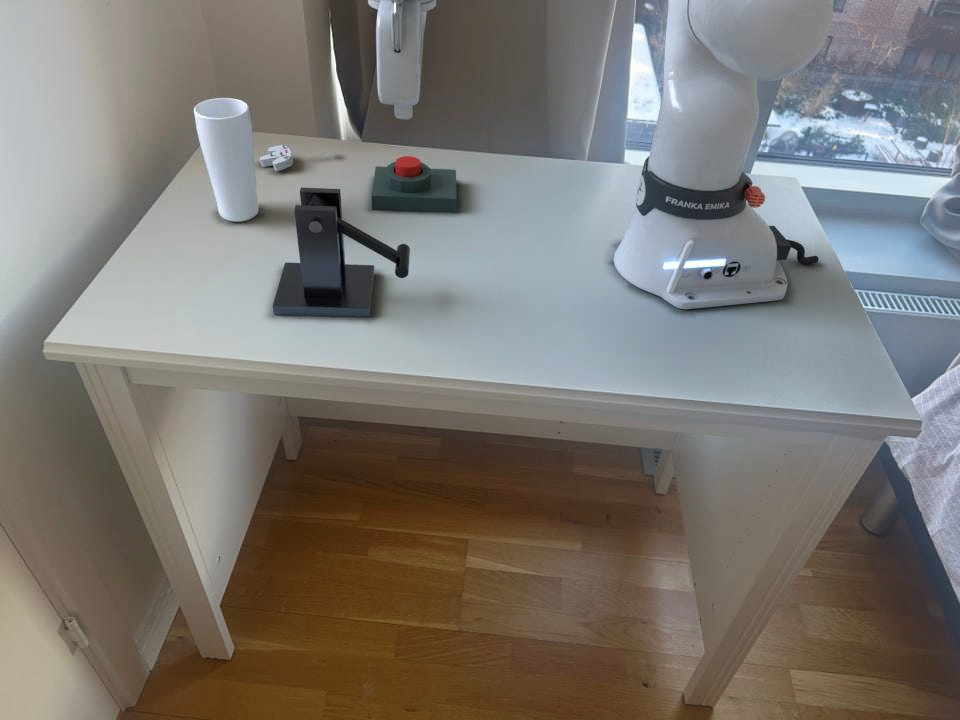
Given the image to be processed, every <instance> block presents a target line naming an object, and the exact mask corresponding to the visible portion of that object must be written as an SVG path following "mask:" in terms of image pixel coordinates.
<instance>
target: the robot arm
mask: <svg viewBox="0 0 960 720" xmlns="http://www.w3.org/2000/svg"><path fill="white" fill-rule="evenodd" d="M834 1H835V0H667V17H666V29H665V41H664V57H663V58H664V61H663V78H662V80H663V81H662V92H661V98H660V105H659V109H658V110H659V111H658V115H657V119H656V124H655V127H654V128H655V129H654V132H653V137H652V142H651V147H650V150H649V151H650V152H649V155H648V156H647V158H646V159H645V160H644V163H643V166H642V170H641V174H640V176H639V179H638V183H637V186H636V187H637V188H636V193H635V207H634V210H633V213H632V217H631V219H630V222H629V224H628V226H627V230H626V232H625V234H624V235H623V237H622V240H621V241H620V243H619V245H618V247H617V248H616V250H615V252H614V254H613V264H614V267H615V269H616V270H617V272H618V273H619V274H620V275H621V277H622V278H623V279H625V280H626V281H627V282H628V283H630V284H631V285H633V286H635V287H637V288H639V289H640V290H643V291H645V292H647V293H650V294H653V295H656V296H658V297H660V298H662V299H663V300H664V301H666V302H667V303H668V304H670V305H671V306H673V307H675V308H677V309H680V310H692V309H704V308H715V307H724V306H735V305H744V304H755V303H756V304H757V303H764V302H766V303H767V302H775V301H781V300H783V299H785V297H786V293H787V290H788V279H787V275H786V272H785V270H784V269H783V266H782V265H781V263H780V262H779V261H786V260H788V256H789V254H790V251H791V249H794V250H795V251H796V260H797V262H798V263H800V264H801V265H811V264H817V263H818V262H819V257H818V256H817V255H811V256H805V255H806V250H805V247H804V246H803V244H801V243H800V242H799V241H795V240H792V239H787V238H785V236H784V234H782V232H781V231H780V230H779V229H778V228H777V227H776V226H775V225H769V224H768V223H767V222H766V221H765V219H764V218H763V216H761V215H760V214H759V213H758V212H757V211H756V210H755V209H757V208H760V207H761V206H763V205H764V202H766V195H765V193H763V192H762V190H761V188H760V187H759V186H757V185H753V181H752V179H751V178H750V176H749V175H747V174H746V173H745V172H743V169H744V167H745V164H746V162H747V157H748V154H749V151H750V148H751V145H752V141H753V139H754V135H755V132H756V129H757V126H758V123H759V119H760V118H759V116H760V103H759V102H760V101H759V96H758V81H760V82H761V81H763V82H773V81H779V80H783V79H786V78H788V77H791V76H793V75H794V74H797V73H798V72H800V71H801V70H802V69H804V68H805V67H807V65H808V64H810V63H811V62H812V60H813V59H814V58H815V57H816V56H817V55H818V54H819V52H820V51H821V50H822V48H823V46H824V45H825V43H826V41H827V39H828V37H829V34H830V32H831V28H832V24H833V16H834V15H833V13H834ZM367 3H368V6H370V8H373V9H375V10H377V12H376V13H377V14H376V24H375V46H376V47H375V49H376V50H375V51H376V53H375V54H376V85H377V86H376V88H377V97H378V100H379V102H380V103H381V104H382V105H387V106H388V105H389V106H394V111H393V112H394V117H395V118H396V119H398V120H411V119H412V118H413V116H414V115H413V113H414V111H413V110H414V106H416V105H417V104H418V103H419V102H420V95H421V85H422V80H421V79H422V67H423V53H424V36H425V30H426V29H425V28H426V22H427V21H426V20H427V15H428V14H427V13H428V12H429V11H431V10H433V9H434V8H435V7H436V6H437V0H367Z"/></svg>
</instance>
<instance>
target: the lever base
mask: <svg viewBox="0 0 960 720" xmlns="http://www.w3.org/2000/svg"><path fill="white" fill-rule="evenodd" d="M313 195H316V196H318V197H320V198H321V199H323V200H325V201H326V202H328V203H330V204H332V205H333V206H335V207H333V206H307V205H308V203H309V202H310V200H311V198H312V197H313ZM299 199H300V204H295V206H294V209H293V212H294V213H293V214H294V222H295V230H296V238H297V239H296V240H297V247H298V256H299V262H288V261H287V262H284V265H283V269H282V272H281V274H280V278H279V283H278V286H277V289H276V292H275V295H274V300H273V302H272V311H273V315H274V316H275V315H278V316H308V317H309V316H312V317H315V316H316V317H349V318H353V317H354V318H369V317H370V313H371V304H372V297H373V289H374V283H375V282H374V281H375V265H374V264H346V256H345V255H346V253H345V239H344V234H342V233H341V232H339V231H338V222H337V217H339V218H341V219H342V220H343V211H342V210H343V208H342V196H341V188H324V187H302V186H301V187H300V189H299Z"/></svg>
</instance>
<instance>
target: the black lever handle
mask: <svg viewBox="0 0 960 720" xmlns="http://www.w3.org/2000/svg"><path fill="white" fill-rule="evenodd" d="M307 206H333V205H332V204H330V203H328V202H326V201H325V200H323V199H321V198H320V197H318V196H316V195H313V197H312V198H311V200H310V202H309V203H308V205H307ZM333 207H335V206H333ZM337 222H338V231H339V232H341V233H342V234H343V236H346V237H348V238H349V239H352V240H353V241H354V242H356V243H358V244H360V245H362V246H364V247H365V248H367V249H369V250H371V251H373V252H374V253H376V254H378V255H379V256H381V257H383V258H384V259H387V260H388V261H390V262H391V263H394V264H395V267H394V274H395V276H396V277H397V278H399V279H404V278H406V277H408V276H409V272H410V256H411V248H410V246H409V245H408V244H406V243H401V244H399V245H397V247H396V249H395V248H393V247H391V246H390V245H388V244H386V243H384V242H382V241H381V240H379V239H377V238H376V237H373V236H372V235H371V234H369V233H367V232H365V231H364V230H362V229H360V228H358V227H356V226H355V225H353V224H351V223H350V222H348V221H346V220H345V219H343V218H342V219H341V218H339V217H337Z"/></svg>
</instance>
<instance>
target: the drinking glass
mask: <svg viewBox="0 0 960 720" xmlns="http://www.w3.org/2000/svg"><path fill="white" fill-rule="evenodd" d="M193 114H194V121H195V128H196V133H197V137H198V142H199V145H200V149H201V153H202V156H203V159H204V163H205V166H206V169H207V173H208V177H209V180H210V184H211V187H212V191H213V194H214V198H215V201H216V206H217V211H218V214H219V216H220V217H221V218H222V219H224V220H226V221H229V222H233V223H234V222H235V223H238V222H239V223H240V222H245V221H249V220H251V219H253V218H255V217H256V216H257V215H258V213H259V210H260V206H259V200H258V199H259V198H258V189H257V188H258V187H257V173H256V171H257V170H256V153H255V152H256V151H255V137H254V136H255V135H254V128H253V122H252V117H251V112H250V107H249V104H247V103H246V102H245V101H243V100H241V99H237V98H233V97H232V98H231V97H216V98H210V99H206V100H203V101H201V102H198V103H197V104H196V105H195V106H194V108H193Z"/></svg>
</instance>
